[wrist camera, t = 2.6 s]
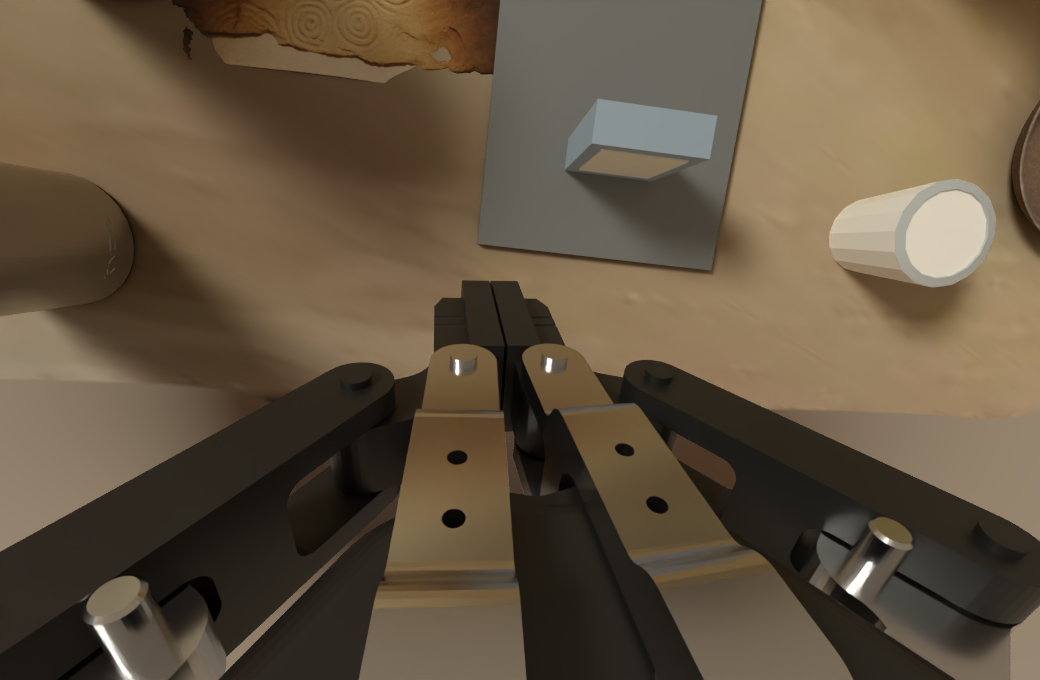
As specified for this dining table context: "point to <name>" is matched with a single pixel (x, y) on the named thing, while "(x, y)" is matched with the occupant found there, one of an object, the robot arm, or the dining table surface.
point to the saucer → (1028, 168)
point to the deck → (639, 141)
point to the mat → (623, 78)
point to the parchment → (348, 34)
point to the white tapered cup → (916, 233)
